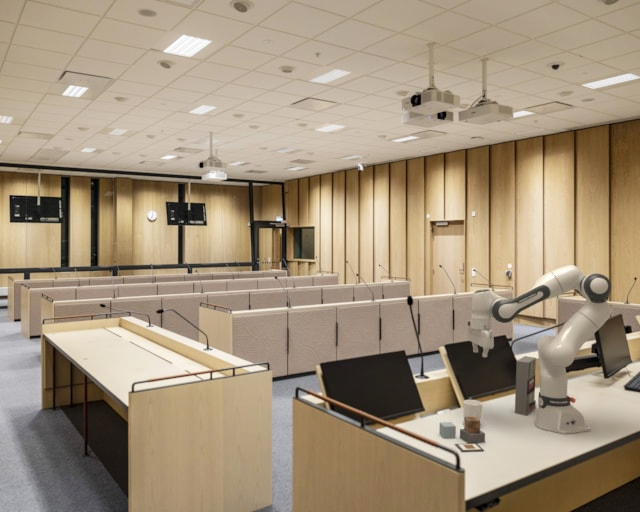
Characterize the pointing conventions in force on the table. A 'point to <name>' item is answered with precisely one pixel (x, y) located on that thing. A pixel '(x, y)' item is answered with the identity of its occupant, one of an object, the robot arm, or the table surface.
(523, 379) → the grey box
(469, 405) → the white cup
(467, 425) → the walnut block
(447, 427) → the slate-blue block
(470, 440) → the charcoal base block
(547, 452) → the table surface
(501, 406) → the table surface
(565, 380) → the robot arm
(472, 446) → the card
